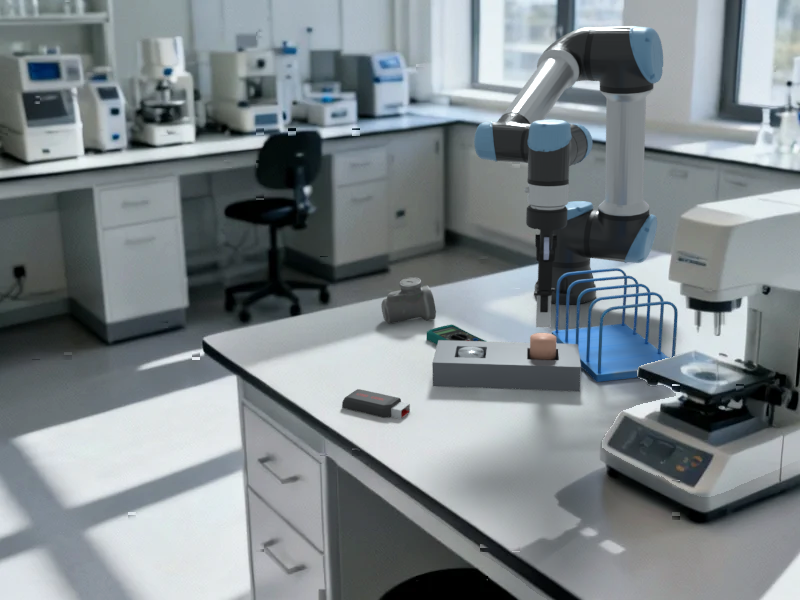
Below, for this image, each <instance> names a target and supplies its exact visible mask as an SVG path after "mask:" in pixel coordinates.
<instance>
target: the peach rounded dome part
mask: <svg viewBox="0 0 800 600" xmlns="http://www.w3.org/2000/svg"><path fill="white" fill-rule="evenodd" d="M529 343H530V358H531V359H533V360H554V359H555V358H556V336H555V335H553V334H552V333H549V332H535V333H532V334H531V335H530V336H529Z"/></svg>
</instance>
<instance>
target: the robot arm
mask: <svg viewBox="0 0 800 600" xmlns="http://www.w3.org/2000/svg"><path fill="white" fill-rule="evenodd" d="M663 67H664V53H663V45H662V41H661V38H660V35H659V33H658V32H657V30H655V29H654V28H653V27H650V26H649V27H648V26H637V25H622V26H620V25H619V26H585V27H580V28H578V29H575V30H572V31H571V32H568V33H566V34H564V35H563V36H561V37H559V38H558V39H556V40H555V41H553V43H551V44H550V45H549V46H548V47H547V48H546V49H545V50H544V51H543V53H542V54H541V55H540V57H539V58H538V61H537V64H536V70H535V71H534V72H533V74H532V75H531V76H530V78H529V79H528V80H527V81H526V83H525V84H524V86H523V87H522V88H521V89H520V91H519V92H518V93H517V95H516V96H515V97H514V98H513V100H512V101H511V103H510V104H509V105H508V107H507V109H506V110H505V111H504V112H503V113H502V115H501V116H500V118H499V119H498V120H497V121H492V120H490V121H483V122H481V123H479V125H478V126H477V127H476V131H475V132H474V140H473V143H474V149H475V153H476V156H478V157H479V159H481V160H484V161H485V160H487V161H493V162H495V163H496V162H497V163H498V162H505V163H506V162H507V163H508V162H509V163H521V164H522V163H523V164H525V163H526V164H527V181H526V182H527V187H524V188H523V193H527V195H526V196H527V197H526V202H527V204H528V206H527V207H526V217H525V224H526V226H527V227H528V228H529V229H532V230H539V234H538V233H537V234H535V239H534V241H535V244H534V245H535V248H536V249H535V251H536V253H535V255H536V257H535V258H536V261H537V262H538V264H537V267H538V269H537V281H535V284H534V291H533V296H534V297H536V313H535V314H536V316H535V318H536V320H535V328H549V329H550V328H551V323H552V322H551V320H552V319H551V318H552V317H551V316H552V304H556V290H557V282H558V280H559V278H560V277H561V276H562V275H563V274H565V273H569V272H578V271H588V270H592V269H591V259H596V260H605V261H613V262H621V263H624V264H627V263H631V264H632V263H633V264H635V263H636V264H640V263H643V262H644V261H646V260H647V258H648V257H649V255H650V253H651V250H652V248H653V245H654V242H655V238H656V234H657V227H658V219H657V218H658V217H657V216H656V215H655V214H652V213H651V214H650V205H649V203H648V202H647V201H646V200H645V199H644V179H645V178H644V174H645V171H644V170H645V145H646V144H645V141H646V140H645V139H646V115H647V114H646V109H647V96H648V95H649V94H651V93H652V91H653V90H654V84H657V83H658V82H660V81H661V79H662V75H663ZM581 81H582V82H584V81H585V82H587V81H589V82H599V92H600V93H601V95H603V96H604V97H605V98H606V103H605V104H606V111H605V112H606V113H605V114H606V115H605V116H606V118H605V182H604V183H605V187H604V189H605V190H604V191H605V192H604V194H605V196H604V199H603V201H602V202H601V203H600V204H599V205H598V208H597V209H594V205H593V203H592V202H591V201H585V200H584V201H582V200H576V201H569V193H570V191H569V189H570V183H569V181H570V180H569V179H570V178H569V177H570V166H573V165H576V164H580V163H581V162H582V161H584V160H585V159H586V158H587V157H588V156H589V155H590V153H591V151H592V148H593V144H594V143H593V136H592V135H591V133H590V131H589V130H588V128H586V127H585V126H584V125H581V124H579V123H569V122H568V121H567V120H562V119H546V118H547V117H548V115H549V113H550V112H551V110H552V109H553V108H554V106H555V105H556V103H557V102H558V100H559V99H560V97H561V96H562V95H563V93H564V92H565V91H566V90H567V89H570V88H571V87H572V86H574V85H575V84H576V82H581ZM583 279H594V276H593V273H586V274H576V275H568V276H566V277H564V278H563V279H562V280H561V282H560V287H559V305H560V304H561V305H566V296H567V290H568V287H569V286H570V285H571V284H572V283H573V282H575V281H577V280H583ZM589 288H597V285H596V283H595V281H593V282H584V283H578V284H576V285H574V286H573V287H572V288H571V290H570V296H569V305H577V299H578V296H579V295H580V293H581V292H582V291H584V290H586V289H589ZM596 295H597V291H590V292H587V293H585V294H584V295H583V296H582V297H581V300H580V304H584V303H588V302H592V301H594V300H595V299H596V297H597V296H596Z"/></svg>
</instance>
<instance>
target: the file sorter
mask: <svg viewBox="0 0 800 600" xmlns="http://www.w3.org/2000/svg"><path fill="white" fill-rule="evenodd" d="M606 272H608V273H609V272H619V273H621V274H622V275H620V276H619V275H618V276H605V277H595V278H594V277H593V279H583V280H577V281H575V282H573V283H572V284H571V285H570V286H569V287H568V290H567V296H566V304H565V329H559V321H560V320H559V317H560V316H559V315H560V314H559V313H560V312H559V309H560V304H559V287H560V282H561V280H562V279H563V278H564V277H566V276H568V275H576V274H586V273H592V274H595V273H596V274H597V273H606ZM628 279H630V280H633V282H634V283H628ZM613 280H624V281H623V282H624V283H623V284H618V285H609V286H599V287H597V286H596V288H589V289H586V290H584V291H582V292H581V293H580V295H579V296H578V299H577V304H576V312H575V315H576V316H575V317H576V318H575V328H569V324H570V323H569V322H570V321H569V320H570V319H569V318H570V317H569V316H570V315H569V314H570V313H569V312H570V304H569V296H570V290H571V288H572V287H573V286H574V285H576V284H578V283H584V282H593V281H594V282H599V281H600V282H601V281H604V282H605V281H613ZM640 287H641V288H643V289H645V290H646V292H640V291H639V290H640ZM628 288H635V293H628V292H627V289H628ZM614 289H615V290H616V289H617V290H618V289H623V294H618V295H617V294H616V295H608V296H607V295H606V296H599V297H597V298H594V299H593V300H592V301H591V303H590V304H589V306H588V312H587V327H580V311H581V309H580V308H581V303H580V300H581V297H582V296H583V295H584V294H585V293H587V292H590V291H596V292H597V291H606V290H607V291H608V290H614ZM646 296H647V302H642V303H639V297H646ZM652 296H656V297H657V298H658V299H659V300H660V301H652V299H651V297H652ZM627 298H634V299H635V300H634V301H635V302H634V303H633V304H627ZM617 299H623V300H622V305H615V306H610V307H608V308H606V309H605V310H604V311H603V312H602V313H601V315H600V319H599V325H596V326H592V309H593V307H594V305H595V304H597V302H600V301H606V300H617ZM665 305H669V306H671V307H672V309H673V315H674V316H673V332H672V333H673V334H672V347H671V358H672V357H673V356H675V357H676V349H677V348H676V347H677V345H676V344H677V334H678V333H677V332H678V316H679V315H678V312H679V311H678V308H677V306H676V304H675V303H673V302H671V301H668V300H667V301H666V300H664V298H663V296H662V295H661V294H659V293H657V292H654V291H651V290H650V288H649V287H648V286H647V285H646V284H643V283H639V281H638V280H637V279H636V277H634V276H631V275H627V274H626V272H625V271H624V270H623V269H622V268H618V267H614V268H612V267H611V268H601V269H591V270H588V271H578V272H569V273H565V274H563V275H562V276H561V277H560V278H559V280H558V282H557V290H556V303H555V327H554V328H555V330H552V331H551V334H553V335H555V336H556V343H557V344H578V348H579V356H580V364H581V369H582V370H584V371H585V372H586V373H587V375H589V376H590V377H591V378H592V379H593V380H594V381H595V382H596V383H601V382H602V383H603V382H609V381H618V380H625V379H626V380H627V379H634V378H638V377H637V370H638V367H639V366H641V365H644V364H647V363H651V362H655V361H658V360H662V359H665V358H670V357H669V356H668V355H666V354H665V353H664V352H662V343H663V342H662V341H663V340H662V339H663V326H664V314H665V313H664V310H665V309H664V307H665ZM652 306H660V309H659V310H660V313H659V325H658V329H659V331H658V343H657V344H658V345H657V347H656V346H655V345H653V344H652V343H651V342H650V341H649V335H650V334H649V333H650V320H651V318H650V317H651V307H652ZM641 307H643V308H644V307H646V323H645V338H644V337H643V336H642V335H641V334H639V333H638V332H637V324H638V308H641ZM632 308H634V317H633V328H632V327H630V326H629V325H628V324H626V323H625V321H626V309H632ZM615 310H622V316H621V317H622V318H621V323H615V324H606V325H604V318H605V316H606V315H607V314H608V313H609V312H612V311H615Z"/></svg>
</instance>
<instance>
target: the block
mask: <svg viewBox="0 0 800 600" xmlns="http://www.w3.org/2000/svg"><path fill="white" fill-rule="evenodd" d="M486 341H487V340H485V341H450V340H438V344H437V345H436V349H435V350H434V351H435V352H434V355H433V359H432V364H431V365H432V387H436V388H437V387H441V388H444V387H445V388H465V389H466V388H467V389H468V388H469V389H494V390H495V389H498V390H499V389H501V390H502V389H503V390H522V391H523V390H525V391H527V390H529V391H530V390H531V391H553V392H555V391H556V392H557V391H559V392H580V391H581V374H582V373H581V372H582V367H581V364H580V356H579V348H578V344H557V343H556V358H555V359H554V360H533V359H531V358H530V342H520V341H519V342H517V341H515V342H513V341H487V342H486ZM463 347H478V348H481V349H483V351H484V358H464V357H458V350H459V349H461V348H463Z"/></svg>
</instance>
